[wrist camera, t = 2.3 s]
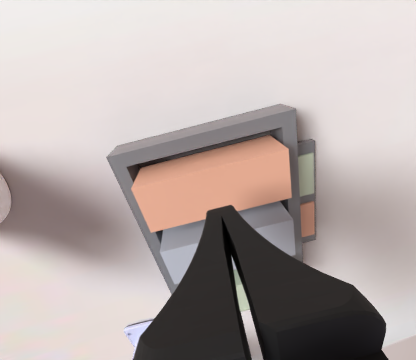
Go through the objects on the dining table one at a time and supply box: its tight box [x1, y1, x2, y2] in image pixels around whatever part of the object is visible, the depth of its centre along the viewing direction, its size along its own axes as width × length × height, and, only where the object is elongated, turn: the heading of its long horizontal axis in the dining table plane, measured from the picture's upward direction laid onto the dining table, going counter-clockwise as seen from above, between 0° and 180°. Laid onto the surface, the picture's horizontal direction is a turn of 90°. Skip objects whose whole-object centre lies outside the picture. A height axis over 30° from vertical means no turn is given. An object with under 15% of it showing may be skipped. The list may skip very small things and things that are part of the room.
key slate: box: [160, 201, 296, 284], centre depth 18 cm, size 4×10×3 cm, turn 103°
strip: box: [297, 139, 315, 243], centre depth 21 cm, size 11×2×1 cm, turn 13°
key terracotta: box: [131, 135, 292, 233], centre depth 16 cm, size 4×10×3 cm, turn 103°
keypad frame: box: [106, 104, 303, 294], centre depth 20 cm, size 18×13×3 cm
